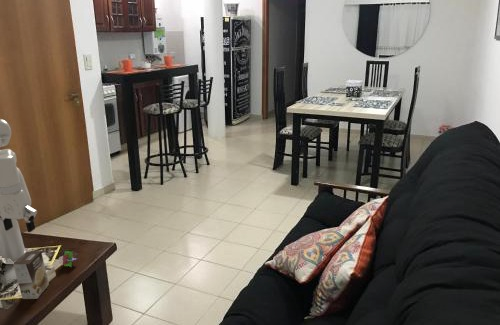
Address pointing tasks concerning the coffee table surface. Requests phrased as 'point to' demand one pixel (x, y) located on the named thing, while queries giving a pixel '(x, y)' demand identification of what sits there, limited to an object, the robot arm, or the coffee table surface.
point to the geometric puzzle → (67, 259)
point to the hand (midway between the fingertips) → (20, 229)
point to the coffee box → (31, 274)
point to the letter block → (50, 272)
